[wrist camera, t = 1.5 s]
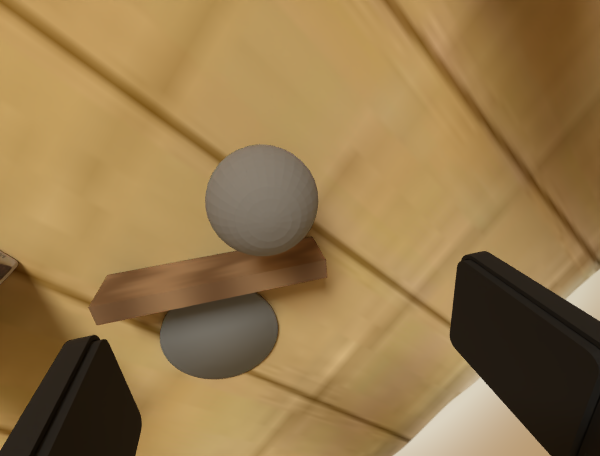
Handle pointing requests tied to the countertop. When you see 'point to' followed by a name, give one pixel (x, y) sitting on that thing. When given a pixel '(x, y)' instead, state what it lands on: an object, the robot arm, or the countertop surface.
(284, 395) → the countertop surface
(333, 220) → the countertop surface
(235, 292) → the walnut rail
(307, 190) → the light bulb
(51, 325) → the countertop surface
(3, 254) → the coffee box
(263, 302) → the pad
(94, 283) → the countertop surface
